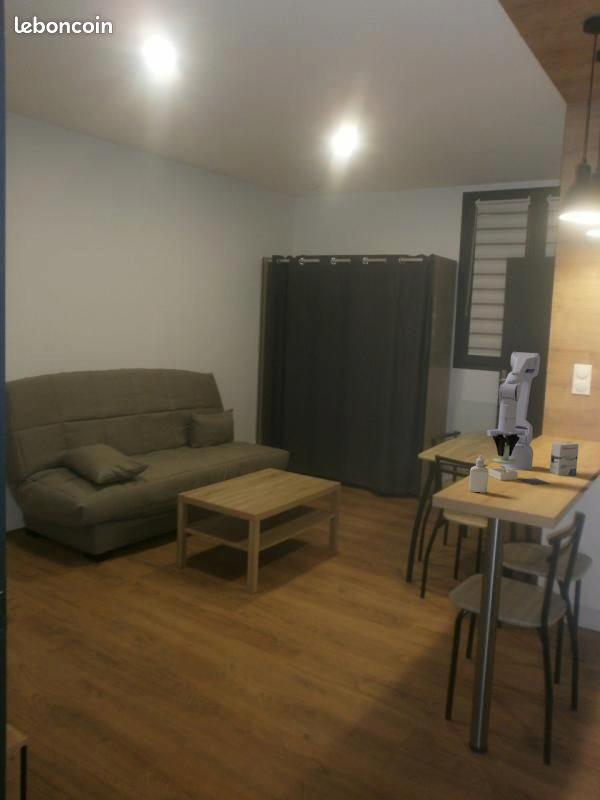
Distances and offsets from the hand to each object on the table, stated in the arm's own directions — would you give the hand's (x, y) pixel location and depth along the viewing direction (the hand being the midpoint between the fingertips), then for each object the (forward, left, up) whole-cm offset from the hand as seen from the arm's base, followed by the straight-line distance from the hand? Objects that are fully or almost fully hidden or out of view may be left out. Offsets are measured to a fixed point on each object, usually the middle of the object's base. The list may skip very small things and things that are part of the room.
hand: (504, 455), depth 233 cm
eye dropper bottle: (+19, +13, -8) cm, 25 cm away
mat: (-8, +7, -8) cm, 13 cm away
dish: (0, 0, -8) cm, 8 cm away
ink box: (-28, -2, -8) cm, 29 cm away
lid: (0, 0, -2) cm, 2 cm away
